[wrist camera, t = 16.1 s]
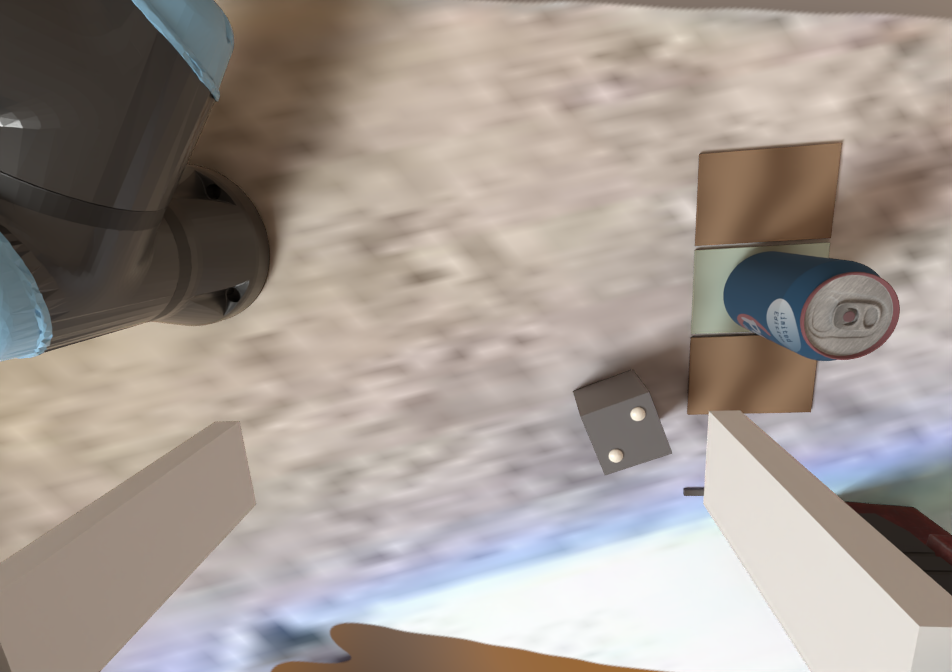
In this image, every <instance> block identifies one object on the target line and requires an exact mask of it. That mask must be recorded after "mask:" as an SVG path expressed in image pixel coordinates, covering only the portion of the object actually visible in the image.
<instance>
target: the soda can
mask: <svg viewBox="0 0 952 672" xmlns="http://www.w3.org/2000/svg"><path fill="white" fill-rule="evenodd" d="M723 300H724V305H725V308H726V311H727V313H728V315H729V316H730V317H731V319H732V320H733V321H734V322H735V323H737V324H738V325H740V326H741V327H743V328H745V329H747V330H749V331H751V332H754V333H756V334H758V335H760V336H762V337H764V338H766V339H768V340H770V341H772V342H774V343H776V344H779V345H781V346H783V347H785V348H787V349H789V350H791V351H793V352H795V353H797V354H799V355H801V356H804V357H806V358H809V359H813V360H819V361H831V360H849V359H855V358H859V357H862V356H865V355H867V354H869V353H871V352H873V351H874V350H876V349H877V348H879V347H880V346H881V345H882V344H884V343H885V342H886V340H887V339H888V338H889V337H890V336H891V334H892V333H893V331H894V329H895V327H896V325H897V322H898V319H899V313H900V306H899V300H898V297H897V294H896V292H895V291H894V289H893V288H892V286H891V285H890V284H889V283H888V282H886V281H885V280H884V279H882V278H881V277H880V276H879V275H878V274H877V273H876V272H875V271H873V270H872V269H871V268H869V267H867V266H865V265H863V264H861V263H858V262H854V261H847V260H839V259H832V258H824V257H816V256H808V255H800V254H792V253H785V252H777V251H767V252H761V253H758V254H755V255H752V256H750V257H748V258H746V259H745V260H743V261H742V262H741V263H739V264H738V265H737V266H736V267H735V268H734V269H733V271H732V272H731V273H730V275H729V277H728V279H727V281H726V283H725V286H724V292H723Z"/></svg>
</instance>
